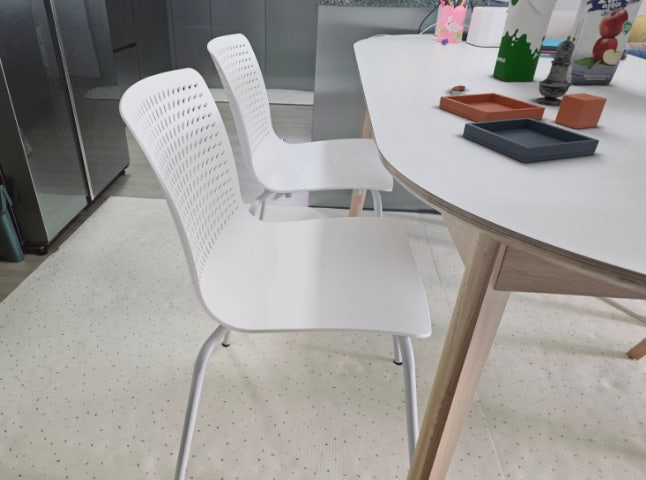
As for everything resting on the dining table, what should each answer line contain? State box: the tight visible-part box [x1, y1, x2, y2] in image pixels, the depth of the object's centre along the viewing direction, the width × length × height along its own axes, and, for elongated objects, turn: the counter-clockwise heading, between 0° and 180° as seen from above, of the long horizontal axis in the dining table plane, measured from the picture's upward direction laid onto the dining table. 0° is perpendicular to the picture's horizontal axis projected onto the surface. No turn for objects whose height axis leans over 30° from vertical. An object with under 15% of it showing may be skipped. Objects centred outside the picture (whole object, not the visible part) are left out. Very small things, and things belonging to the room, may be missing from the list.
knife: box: [449, 84, 466, 96], centre depth 100 cm, size 13×1×3 cm
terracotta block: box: [554, 92, 608, 130], centre depth 78 cm, size 4×4×4 cm
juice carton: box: [566, 0, 643, 86], centre depth 105 cm, size 9×10×27 cm
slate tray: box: [462, 118, 600, 163], centre depth 69 cm, size 12×13×2 cm
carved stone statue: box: [534, 34, 575, 106], centre depth 90 cm, size 6×6×12 cm
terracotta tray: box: [438, 92, 546, 122], centre depth 85 cm, size 12×13×2 cm
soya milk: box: [492, 0, 558, 82], centre depth 111 cm, size 9×9×20 cm
